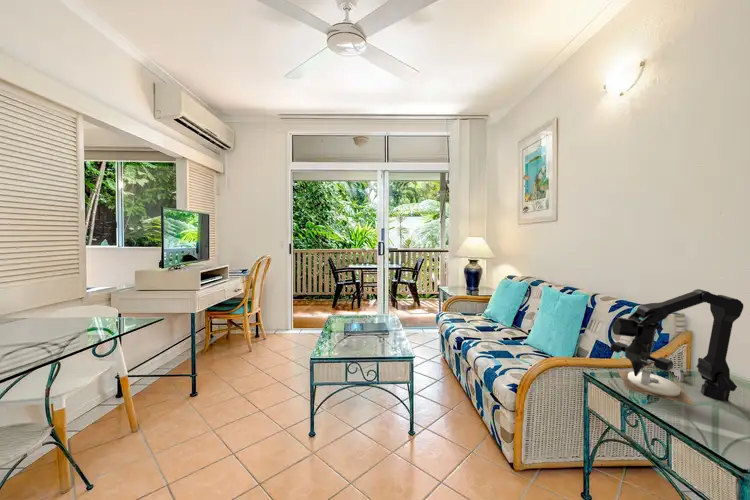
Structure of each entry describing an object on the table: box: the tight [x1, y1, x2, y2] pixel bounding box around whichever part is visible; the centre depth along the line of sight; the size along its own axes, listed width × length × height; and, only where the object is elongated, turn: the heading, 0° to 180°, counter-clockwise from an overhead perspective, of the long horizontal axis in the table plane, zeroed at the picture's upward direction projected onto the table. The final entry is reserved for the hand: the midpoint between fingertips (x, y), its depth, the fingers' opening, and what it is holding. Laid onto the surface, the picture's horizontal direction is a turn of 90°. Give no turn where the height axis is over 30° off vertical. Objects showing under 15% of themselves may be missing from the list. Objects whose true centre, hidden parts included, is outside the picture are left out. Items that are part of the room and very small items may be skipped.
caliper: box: [668, 368, 685, 383], centre depth 146 cm, size 20×1×6 cm, turn 156°
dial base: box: [617, 369, 696, 406], centre depth 132 cm, size 20×19×2 cm
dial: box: [627, 369, 682, 396], centre depth 131 cm, size 16×16×7 cm
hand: (635, 376), depth 131 cm, fingers closed
